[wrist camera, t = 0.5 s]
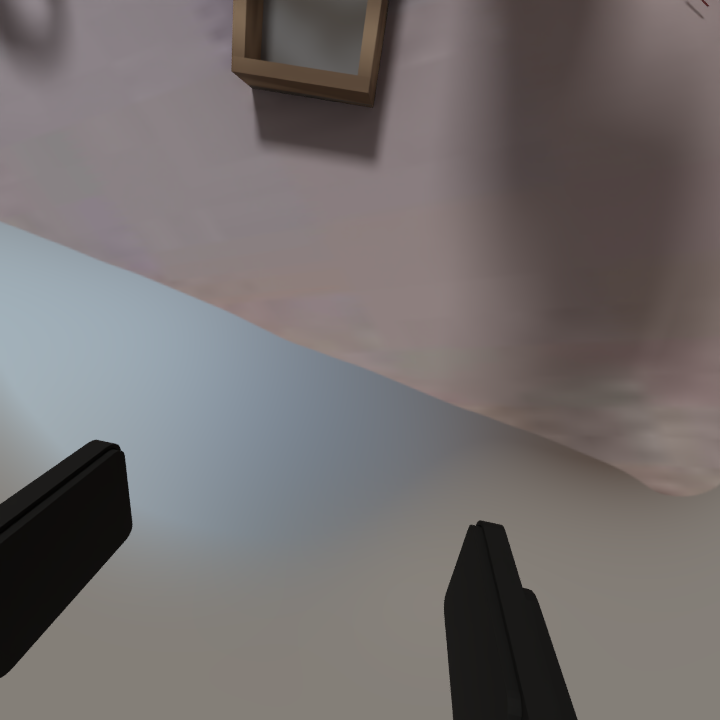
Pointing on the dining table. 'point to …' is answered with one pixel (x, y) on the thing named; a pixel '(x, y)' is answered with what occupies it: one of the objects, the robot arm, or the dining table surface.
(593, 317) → the dining table surface
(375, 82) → the wooden tray
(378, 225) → the dining table surface
